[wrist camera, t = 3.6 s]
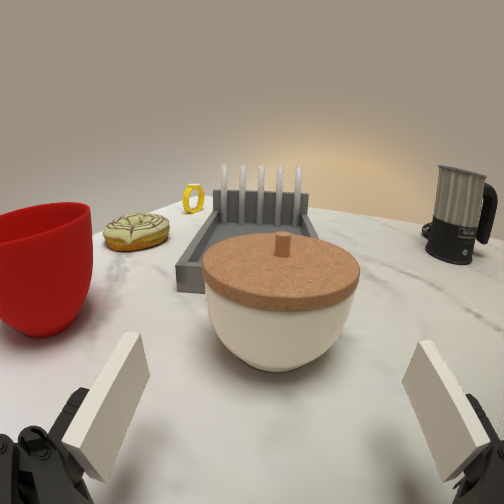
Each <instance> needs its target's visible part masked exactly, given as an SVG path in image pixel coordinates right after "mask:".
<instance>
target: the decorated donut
mask: <svg viewBox="0 0 504 504" xmlns="http://www.w3.org/2000/svg"><path fill="white" fill-rule="evenodd" d="M169 229H170V227H169V221H168V219H167V218H165V217H163V216H160V215H156V214H146V213H136V214H129V215H125V216H123V217H120V218H117V219H115V220H113V221H112V222H110V223H109V224H108V225H107V226H106V227H105V229H104V230H103V236H104V238H105V241H106V243H107V244H108V246H109V247H110V248H111V249H112V250H115V251H133V250H143V249H145V248H150V247H153V246H154V245H156V244H160V243H161V242H163V241H164V240H165V239H166V237H167V235H168V232H169Z"/></svg>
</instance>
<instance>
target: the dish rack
mask: <svg viewBox="0 0 504 504" xmlns="http://www.w3.org/2000/svg"><path fill="white" fill-rule="evenodd" d="M283 169H284V167H281V166H278V167H277V185H276V192H271V191H264V174H265V166H259V169H258V191H247V190H245V186H246V165H240V180H239V183H240V184H239V190H227V165H221V190H213V212H212V213H211V214H210V216H209V217H208V219H207V220H206V221H205V223H204V224H203V226H202V227H201V229H200V230H199V231H198V233H197V234H196V236H195V237H194V239H193V240H192V241H191V243H190V244H189V246H188V247H187V249H186V250H185V252H184V253H183V255H182V256H181V258H180V259H179V261H178V262H177V263H176V265H175V268H176V280H177V291H179V292H193V293H205V281H204V277H203V274H202V258H203V256H204V254H205V252H206V251H207V250H208V249H209V248H210V247H212V246H213V245H215V244H216V243H218V242H220V241H223V240H226V239H229V238H233V237H236V236H242V235H248V234H258V233H276V232H280V231H284V232H289V233H291V234H294V235H301V236H307V237H312V238H315V239H319V238H318V236H317V234H316V232H315V230H314V228H313V225H312V223H311V221H310V219H309V217H308V215H307V210H308V196H309V195H308V194H307V193H301V178H302V168H298V167H296V176H295V193H291V192H282V189H283Z"/></svg>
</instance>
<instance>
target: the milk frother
mask: <svg viewBox="0 0 504 504" xmlns="http://www.w3.org/2000/svg"><path fill="white" fill-rule="evenodd" d="M438 167H439V177H438V186H437V193H436V201H435V209H434V215H433V221H432V222H431V223H428V224H426V225H424V226H423V227H422V233H423V234H424V235H425V236H426V237H428V238H429V240H428V244H427V245H426V247H425V248H426V251H427V252H428V253H429V254H431V255H433V256H434V257H436V258H439V259H441V260H444V261H447V262H450V263H455V264H468V263H470V262H471V261H472V254H473V249H474V243H475V238H476V240H477V241H478V242H480V243H481V244H487V243H488V240H489V237H490V233H491V229H492V225H493V221H494V218H495V213H496V209H497V203H498V200H497V194H496V191H495V190H494V188H493V187H492V186H491V185H489V184H487V183H485V178H487V176H485V175H481V174H478V173H474V172H470V171H466V170H462V169H457V168H453V167H448V166H442V165H438ZM482 198H483V206H482V210H481V205H482ZM480 212H481V215H480ZM479 218H480V220H479ZM478 223H479V224H478ZM477 228H478V229H477ZM476 232H477V233H476Z"/></svg>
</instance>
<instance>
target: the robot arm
mask: <svg viewBox="0 0 504 504" xmlns="http://www.w3.org/2000/svg"><path fill="white" fill-rule="evenodd" d="M149 377H150V373H149V369H148V365H147V361H146V357H145V352H144V348H143V343H142V338H141V334H140V333H134V332H127V331H126V332H125V333H124V335H123V336H122V338H121V340H120V341H119V343H118V344H117V346H116V348H115V349H114V351H113V352H112V354H111V356H110V357H109V359H108V360H107V362H106V364H105V365H104V367H103V369H102V370H101V372H100V374H99V375H98V377H97V379H96V380H95V382H94V384H93V385H92V387H91V389H90V390H89V389H86V388H82V387H80V388H79V389H78V390H76V391H75V392H74V393H73V394H72V395H71V396H70V398H69V399H68V401H67V403H66V405H65V406H64V408H63V409H62V412H61V413H60V414H59V416H58V418H57V419H56V421H55V423H54V424H53V426H52V428H51V430H50V431H49V433H48V434H47V433H46V431H45V430H44V429H42V428H41V427H38V426H29V427H27V428H24V429H23V430H22V431H21V432H20V434H19V436H18V443H14V442H13V441H12V439H11V438H10V437H8V436H7V435H5V434H0V504H94V503H93V501H92V498H91V496H90V494H89V491H88V489H87V487H86V484H85V482H84V480H83V478H82V476H83V473H84V471H85V472H86V474H87V475H88V476H89V477H90V478H93V479H96V480H98V481H101V482H104V483H107V481H108V478H109V475H110V473H111V470H112V467H113V465H114V462H115V460H116V457H117V454H118V452H119V449H120V447H121V444H122V442H123V439H124V437H125V434H126V432H127V429H128V427H129V424H130V422H131V420H132V417H133V415H134V412H135V410H136V407H137V405H138V403H139V400H140V398H141V396H142V393H143V391H144V388H145V386H146V384H147V381H148V379H149ZM402 383H403V386H404V388H405V390H406V392H407V395H408V397H409V399H410V401H411V404H412V406H413V408H414V411H415V413H416V416H417V418H418V420H419V423H420V425H421V428H422V430H423V433H424V435H425V438H426V440H427V443H428V445H429V448H430V451H431V453H432V456H433V459H434V461H435V464H436V467H437V470H438V472H439V475H440V478H441V481H442V483H443V482H446V481H449V480H452V479H455V478H456V477H458V476H459V475H460V474H461V473H462V472H463V471H464V474H465V476H464V477H463V478H462V479H461V480H460V481H459V482H458V483H456V484H455V486H454V487H453V489H455V488H456V487H458V486H459V485H460V486H459V489H458V491H457V494H456V496H455V499H454V501H453V504H504V440H502V441H500V439H499V438H498V436H497V434H496V432H495V430H494V428H493V426H492V425H491V423H490V421H489V419H488V417H486V414H485V412H484V410H482V407H481V405H480V404H479V402H478V400H477V399H476V398H474V397H473V396H472V395H471V394H466V395H465V394H464V392H463V390H462V389H461V387H460V385H459V384H458V382H457V380H456V379H455V377H454V375H453V374H452V372H451V371H450V369H449V367H448V366H447V364H446V363H445V361H444V360H443V358H442V356H441V355H440V353H439V352H438V350H437V349H436V347H435V346H434V344H433V343H432V341H431V340H427V341H418V344H417V346H416V349H415V351H414V354H413V356H412V359H411V361H410V364H409V366H408V368H407V371H406V373H405V375H404V377H403V380H402Z"/></svg>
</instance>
